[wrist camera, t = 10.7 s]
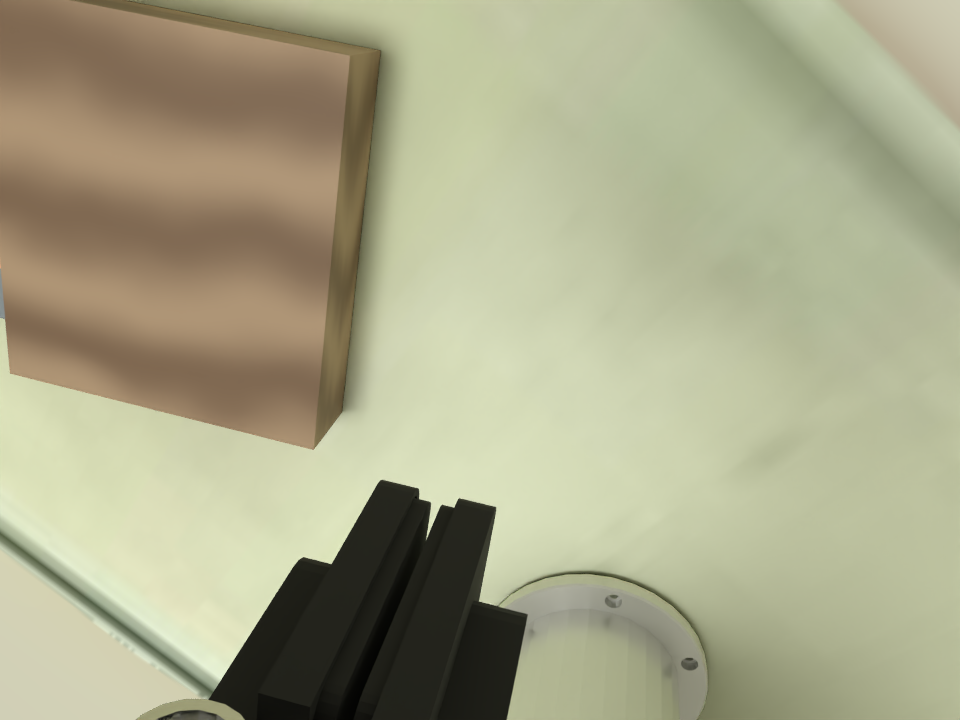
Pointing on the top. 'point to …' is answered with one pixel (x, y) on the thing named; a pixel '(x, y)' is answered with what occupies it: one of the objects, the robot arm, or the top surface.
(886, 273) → the top surface
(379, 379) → the top surface
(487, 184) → the top surface
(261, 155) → the deck
